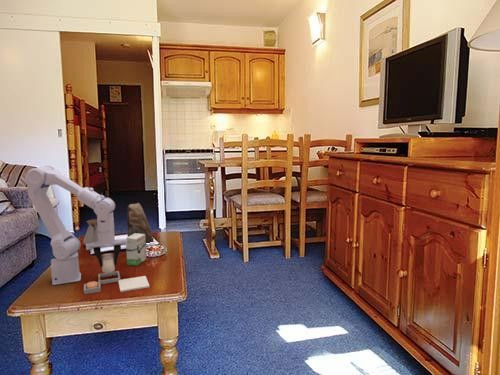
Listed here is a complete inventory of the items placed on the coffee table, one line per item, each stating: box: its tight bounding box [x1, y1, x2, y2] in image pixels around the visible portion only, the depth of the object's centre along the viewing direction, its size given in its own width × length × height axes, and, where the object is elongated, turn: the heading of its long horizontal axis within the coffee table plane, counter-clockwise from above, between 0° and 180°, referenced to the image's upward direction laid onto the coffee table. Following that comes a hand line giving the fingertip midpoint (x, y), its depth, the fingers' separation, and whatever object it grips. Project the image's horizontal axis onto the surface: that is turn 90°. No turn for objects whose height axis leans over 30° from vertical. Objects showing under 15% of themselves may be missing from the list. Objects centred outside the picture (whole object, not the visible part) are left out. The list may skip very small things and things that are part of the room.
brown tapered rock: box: [125, 202, 154, 243], centre depth 183 cm, size 13×13×20 cm
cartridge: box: [101, 252, 116, 273], centre depth 138 cm, size 4×4×6 cm
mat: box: [117, 275, 150, 293], centre depth 134 cm, size 10×10×1 cm
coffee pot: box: [82, 218, 99, 246], centre depth 174 cm, size 21×12×15 cm, turn 21°
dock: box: [83, 270, 121, 295], centre depth 135 cm, size 12×14×2 cm
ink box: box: [125, 233, 147, 266], centre depth 156 cm, size 9×5×12 cm, turn 168°
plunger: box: [86, 280, 99, 289], centre depth 129 cm, size 4×4×2 cm
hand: (108, 265), depth 138 cm, fingers closed on cartridge, 4 cm apart
